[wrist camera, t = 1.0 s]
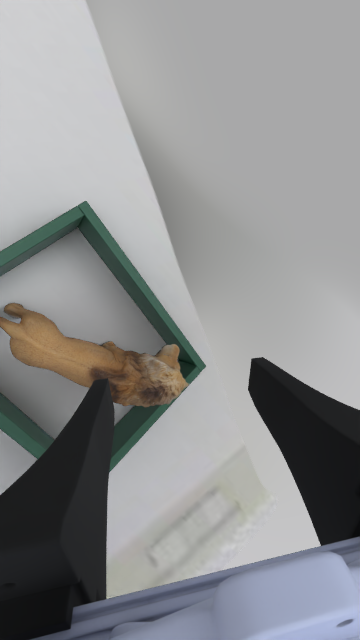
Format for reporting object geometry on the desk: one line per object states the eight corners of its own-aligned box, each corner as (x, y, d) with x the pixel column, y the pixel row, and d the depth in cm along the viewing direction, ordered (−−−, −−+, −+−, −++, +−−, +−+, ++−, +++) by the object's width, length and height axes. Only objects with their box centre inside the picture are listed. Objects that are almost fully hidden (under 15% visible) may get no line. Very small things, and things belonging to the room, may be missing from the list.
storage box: (78, 474, 24) (85, 498, 21) (-100, 324, 18) (-127, 327, 15) (187, 360, 29) (206, 366, 26) (78, 214, 23) (86, 200, 20)
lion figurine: (154, 339, 27) (205, 352, 19) (139, 391, 26) (186, 426, 18) (-20, 291, 20) (-52, 280, 12) (-45, 361, 19) (-96, 398, 11)
